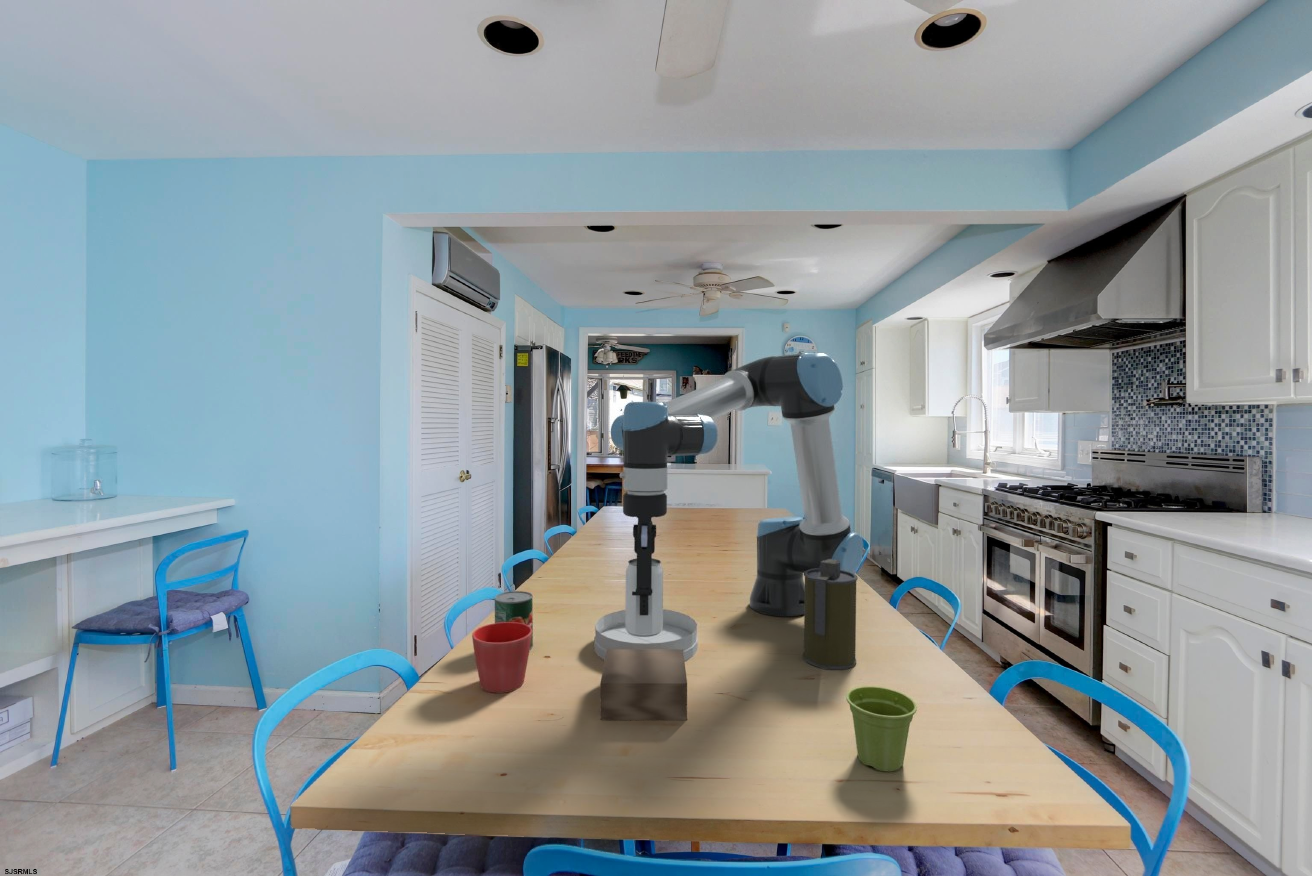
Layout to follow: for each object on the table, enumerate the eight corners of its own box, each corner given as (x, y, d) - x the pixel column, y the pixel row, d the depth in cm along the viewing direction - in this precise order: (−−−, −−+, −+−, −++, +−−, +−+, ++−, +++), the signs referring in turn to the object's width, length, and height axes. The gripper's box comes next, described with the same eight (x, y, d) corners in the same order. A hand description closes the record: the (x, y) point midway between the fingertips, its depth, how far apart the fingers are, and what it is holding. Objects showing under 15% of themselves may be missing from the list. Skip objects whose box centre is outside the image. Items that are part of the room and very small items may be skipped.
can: (664, 625, 105) (664, 557, 105) (661, 638, 99) (661, 566, 98) (628, 623, 106) (628, 556, 105) (622, 636, 99) (623, 565, 99)
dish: (719, 647, 127) (719, 623, 127) (647, 679, 111) (647, 653, 111) (645, 622, 142) (645, 601, 142) (572, 648, 126) (572, 624, 126)
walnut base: (682, 681, 110) (683, 649, 110) (687, 720, 96) (687, 683, 96) (607, 681, 110) (607, 649, 110) (600, 719, 96) (600, 683, 96)
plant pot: (835, 743, 89) (836, 686, 89) (895, 740, 90) (896, 684, 90) (862, 781, 80) (863, 718, 80) (929, 778, 81) (930, 715, 80)
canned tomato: (505, 639, 130) (504, 589, 130) (538, 642, 129) (538, 592, 128) (487, 653, 123) (487, 600, 122) (523, 656, 121) (523, 603, 121)
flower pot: (543, 675, 112) (543, 624, 112) (511, 701, 102) (511, 646, 101) (495, 667, 116) (495, 618, 115) (459, 692, 105) (459, 638, 105)
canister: (813, 645, 127) (814, 553, 127) (862, 657, 121) (864, 560, 121) (793, 662, 118) (795, 563, 118) (846, 676, 112) (847, 571, 112)
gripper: (625, 485, 111) (625, 607, 112) (619, 499, 92) (619, 646, 93) (665, 485, 111) (664, 607, 112) (668, 499, 92) (667, 647, 93)
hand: (644, 625), depth 102 cm, fingers closed on can, 6 cm apart
